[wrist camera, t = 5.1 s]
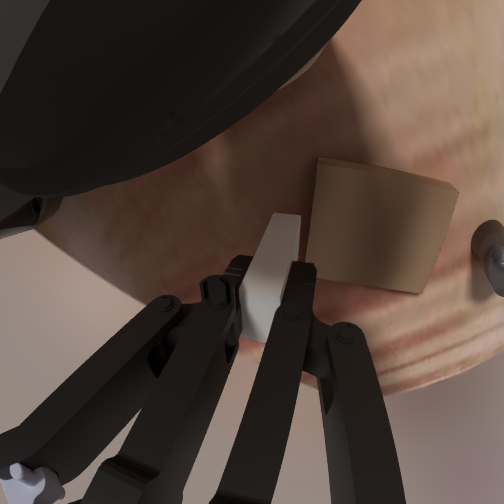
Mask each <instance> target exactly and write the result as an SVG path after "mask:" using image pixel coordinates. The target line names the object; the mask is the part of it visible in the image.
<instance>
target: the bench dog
mask: <svg viewBox="0 0 504 504" xmlns="http://www.w3.org/2000/svg"><path fill="white" fill-rule="evenodd" d="M471 249H472V252H473V254H474V255H475V257H476V259H477V260H478V262H479V264H480V265H481V267H482V269H483V270H484V272H485V274H486V276H487V277H488V279H489V281H490V283H491V285H492V287H493V288H494V290H495V292H496V294H498V295H499V296H502V297H504V226H503V225H502V224H501V223H500V222H499V221H496V220H488V221H486V222H484V223H482V224H481V225H480V226H479V227H478V228H477V229H476V231H475V233H474V235H473V237H472V241H471Z"/></svg>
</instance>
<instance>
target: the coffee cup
mask: <svg viewBox="0 0 504 504" xmlns="http://www.w3.org/2000/svg"><path fill="white" fill-rule="evenodd" d="M360 2H361V0H0V186H1V187H3V188H6V189H8V190H11V191H14V192H17V193H20V194H23V195H27V196H33V197H41V198H56V197H65V196H71V195H76V194H80V193H83V192H87V191H90V190H93V189H96V188H99V187H101V186H104V185H109V184H114V183H118V182H122V181H126V180H129V179H132V178H135V177H138V176H141V175H143V174H146V173H149V172H151V171H154V170H156V169H158V168H160V167H163V166H165V165H167V164H169V163H171V162H173V161H175V160H177V159H179V158H181V157H183V156H184V155H186V154H188V153H189V152H191V151H193V150H195V149H196V148H198V147H200V146H202V145H204V144H205V143H206V142H208V141H209V140H211V139H213V138H214V137H216V136H217V135H219V134H220V133H222V132H223V131H225V130H226V129H228V128H229V127H231V126H232V125H233V124H235V123H236V122H237V121H239V120H240V119H241V118H243V117H244V116H246V115H247V114H248V113H250V112H251V111H252V110H254V109H255V108H256V107H257V106H258V105H260V104H261V103H262V102H263V101H265V100H266V99H267V98H268V97H270V96H271V95H272V94H274V93H275V92H277V91H278V90H280V89H281V88H283V87H284V86H286V85H287V84H289V83H291V82H292V81H294V80H295V79H297V78H298V77H299V76H301V75H302V74H303V73H304V72H305V71H307V70H308V69H309V68H310V67H311V66H312V64H313V63H314V62H315V61H316V60H317V58H318V57H319V56H320V54H321V53H322V51H323V50H324V48H325V47H326V45H327V44H328V42H329V41H330V39H331V38H332V37H333V36H334V34H335V33H336V32H337V31H338V30H339V29H340V27H341V26H342V25H343V24H344V23H345V22H346V20H347V19H348V18H349V16H350V15H351V14H352V13H353V11H354V10H355V9H356V7H357V6H358V4H359V3H360Z"/></svg>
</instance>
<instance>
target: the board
mask: <svg viewBox="0 0 504 504" xmlns="http://www.w3.org/2000/svg"><path fill="white" fill-rule="evenodd" d="M458 194H459V192H458V191H457V190H456V189H455V188H454V187H453V186H452V185H451V184H450V183H448V182H444V181H440V180H437V179H433V178H429V177H425V176H420V175H416V174H412V173H407V172H403V171H398V170H393V169H389V168H384V167H379V166H373V165H368V164H362V163H357V162H351V161H345V160H338V159H332V158H325V157H318V163H317V172H316V182H315V190H314V199H313V207H312V215H311V222H310V230H309V237H308V244H307V251H306V257H305V262H308V263H314V265H315V267H316V269H317V275H316V278H318V279H324V280H331V281H337V282H344V283H351V284H358V285H364V286H371V287H378V288H385V289H392V290H399V291H406V292H414V293H421V294H422V293H423V290H424V288H425V286H426V284H427V281H428V279H429V277H430V274H431V272H432V270H433V267H434V265H435V262H436V260H437V257H438V254H439V252H440V249H441V247H442V244H443V241H444V238H445V235H446V233H447V230H448V227H449V224H450V221H451V218H452V214H453V211H454V208H455V205H456V201H457V198H458Z"/></svg>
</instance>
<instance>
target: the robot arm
mask: <svg viewBox="0 0 504 504" xmlns="http://www.w3.org/2000/svg"><path fill="white" fill-rule="evenodd" d="M62 198H63V197H56V198H41V197H33V196H27V195H23V194H20V193H17V192H14V191H11V190H8V189H6V188H3V187H1V186H0V239H2V238H5V237H8V236H12V235H15V234H18V233H22V232H25V231H28V230H32V229H34V228H36V227H37V226H39V225H40V224H41V223H43V222H44V221H46V220H47V219H48V218H50V217H51V216H52V215H53V214H54V213H55V212H56V211H57V209H58V207H59V206H60V203H61V201H62ZM300 224H301V215H293V214H283V213H273V215H272V217H271V219H270V222H269V224H268V226H267V228H266V231H265V233H264V235H263V237H262V239H261V242H260V244H259V246H258V248H257V251H256V253H255V255H254V256H246V255H238V256H236V257H235V258H234V259H232V260H231V262H230V264H229V266H228V268H227V269H226V271H225V274H224V275H213V276H209V277H207V278H205V279H203V280H202V281H201V282H200V283H199V284H200V290H201V296H202V301H201V302H199V303H194V304H181V302H180V300H179V298H177V297H176V296H173V295H163V296H160V297H157V298H156V299H154V300H153V301H151V302H150V303H149V304H148V305H147V306H146V307H145V308H144V309H143V310H141V311H140V312H139V313H138V314H137V315H136V316H135V317H134V318H132V319H131V320H130V321H129V322H128V323H127V324H126V325H125V326H124V327H122V328H121V329H120V330H119V331H118V332H117V333H116V334H115V335H114V336H113V337H111V338H110V339H109V340H108V341H107V342H106V343H105V344H104V345H103V346H102V347H101V348H99V349H98V350H97V351H96V352H95V353H94V354H93V355H92V356H91V357H90V358H89V359H88V360H86V361H85V362H84V363H83V364H82V365H81V366H80V367H79V368H78V369H77V370H76V371H75V372H74V373H73V374H72V375H71V376H69V377H68V379H66V380H65V381H64V382H63V383H62V384H61V385H60V386H59V387H58V388H57V389H56V390H55V391H54V392H53V393H52V394H51V395H50V396H49V397H48V398H47V399H46V400H44V402H43V403H42V404H40V405H39V406H38V407H37V408H36V409H35V410H34V411H33V412H32V413H31V414H30V415H29V416H28V417H27V418H26V419H25V420H24V421H23V422H22V423H21V424H20V425H19V426H17V427H15V428H13V429H11V430H9V431H6V432H4V433H2V434H0V482H1V485H2V488H3V491H4V494H5V497H6V500H7V502H8V504H53V503H54V502H55V501H56V500H58V499H63V498H64V497H65V490H64V488H63V487H62V485H64V484H66V483H68V482H70V481H72V480H73V479H75V478H76V477H77V476H79V475H80V474H81V473H82V472H83V471H84V470H85V469H86V468H87V467H88V466H89V465H90V464H91V462H93V461H94V460H95V458H96V457H97V456H98V455H99V454H100V453H101V452H102V451H103V450H104V448H106V446H108V444H109V443H110V442H111V441H112V440H113V439H114V438H115V437H116V436H117V435H118V434H119V432H120V431H121V430H122V429H123V428H124V427H125V426H126V425H127V424H128V423H129V421H130V420H131V419H132V418H133V417H134V416H135V415H136V414H137V413H138V411H139V410H140V409H141V408H142V409H141V411H140V413H139V415H138V417H137V418H136V421H135V422H134V424H133V426H132V428H131V430H130V432H129V434H128V435H127V437H126V439H125V441H124V443H123V445H122V447H121V449H120V451H119V452H118V454H117V455H116V456H114V457H112V458H108V459H106V460H105V461H104V462H102V464H101V465H100V467H99V468H98V470H97V472H96V474H95V476H94V477H93V480H92V481H91V483H90V485H89V487H88V489H87V491H86V493H85V495H84V497H83V499H80V500H77V501H75V502H71V503H68V504H182V500H183V490H184V487H185V484H186V482H187V479H188V477H189V475H190V472H191V470H192V467H193V464H194V462H195V460H196V457H197V455H198V452H199V450H200V447H201V445H202V442H203V440H204V437H205V435H206V432H207V429H208V427H209V424H210V422H211V419H212V417H213V414H214V412H215V409H216V406H217V404H218V401H219V399H220V396H221V394H222V391H223V388H224V386H225V383H226V381H227V378H228V375H229V373H230V370H231V367H232V364H233V362H234V359H235V357H236V354H237V351H238V348H239V337H240V334H241V332H242V339H247V340H252V341H258V342H263V343H266V345H265V348H264V351H263V355H262V358H261V361H260V364H259V368H258V371H257V374H256V378H255V380H254V384H253V387H252V390H251V393H250V396H249V399H248V402H247V405H246V409H245V412H244V415H243V418H242V421H241V424H240V427H239V430H238V433H237V436H236V438H235V441H234V444H233V447H232V450H231V453H230V456H229V459H228V462H227V465H226V467H225V470H224V473H223V475H222V478H221V481H220V484H219V487H218V489H217V491H216V494H215V495H214V497H213V498H212V499H211V501H210V502H209V504H271V501H272V498H273V494H274V490H275V487H276V483H277V480H278V476H279V472H280V469H281V464H282V460H283V457H284V453H285V448H286V445H287V440H288V436H289V431H290V427H291V423H292V418H293V414H294V409H295V404H296V399H297V394H298V389H299V384H300V379H301V374H302V370H303V371H305V372H307V373H309V374H312V375H314V376H316V377H317V383H318V390H319V397H320V405H321V412H322V420H323V428H324V435H325V444H326V453H327V462H328V472H329V482H330V493H331V504H406V500H405V494H404V488H403V483H402V477H401V472H400V467H399V462H398V458H397V453H396V448H395V444H394V439H393V435H392V431H391V427H390V423H389V419H388V415H387V411H386V407H385V403H384V400H383V396H382V392H381V389H380V385H379V382H378V378H377V375H376V371H375V368H374V365H373V361H372V358H371V355H370V352H369V348H368V345H367V342H366V339H365V336H364V333H363V332H362V330H361V329H360V328H359V327H358V326H356V325H355V324H352V323H349V322H340V323H336V324H334V325H333V326H329V325H326V324H324V323H322V322H320V321H319V320H318V319H317V318H316V317H315V316H314V314H313V311H312V306H313V299H314V291H315V283H316V275H317V269H316V267H315V265H314V263H308V262H300V261H297V260H298V252H299V239H300Z"/></svg>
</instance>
